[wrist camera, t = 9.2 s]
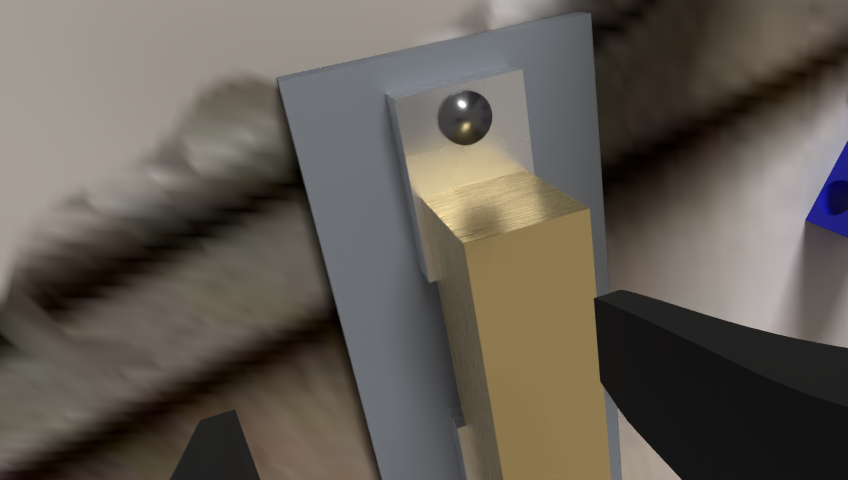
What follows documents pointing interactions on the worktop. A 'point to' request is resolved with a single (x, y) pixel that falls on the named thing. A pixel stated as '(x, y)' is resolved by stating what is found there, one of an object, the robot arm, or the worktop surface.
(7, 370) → the worktop surface
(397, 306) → the slate board
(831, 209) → the cable clip
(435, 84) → the mounting blocks
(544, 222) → the link bar
